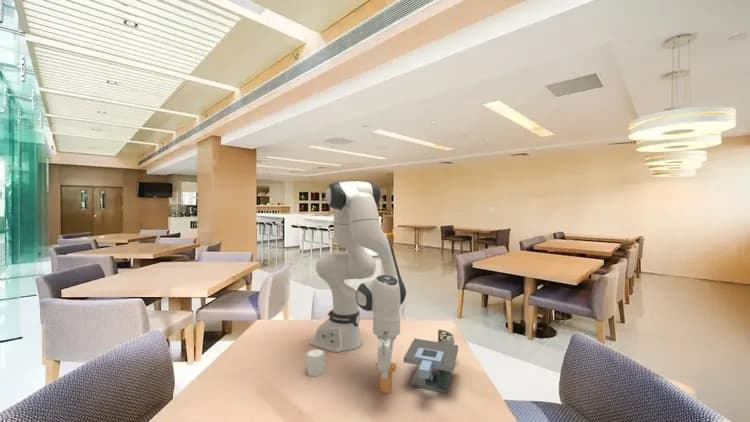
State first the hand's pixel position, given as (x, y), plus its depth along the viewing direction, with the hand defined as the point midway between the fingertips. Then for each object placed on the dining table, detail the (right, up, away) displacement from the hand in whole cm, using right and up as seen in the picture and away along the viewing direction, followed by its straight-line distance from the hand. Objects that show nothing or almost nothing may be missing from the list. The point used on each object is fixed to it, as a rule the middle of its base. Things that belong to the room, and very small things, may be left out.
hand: (386, 369), depth 100 cm
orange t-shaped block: (0, -7, 0) cm, 7 cm away
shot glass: (-25, -7, +11) cm, 28 cm away
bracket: (+13, +2, -2) cm, 13 cm away
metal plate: (+16, -7, +6) cm, 18 cm away
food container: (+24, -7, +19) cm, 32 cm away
